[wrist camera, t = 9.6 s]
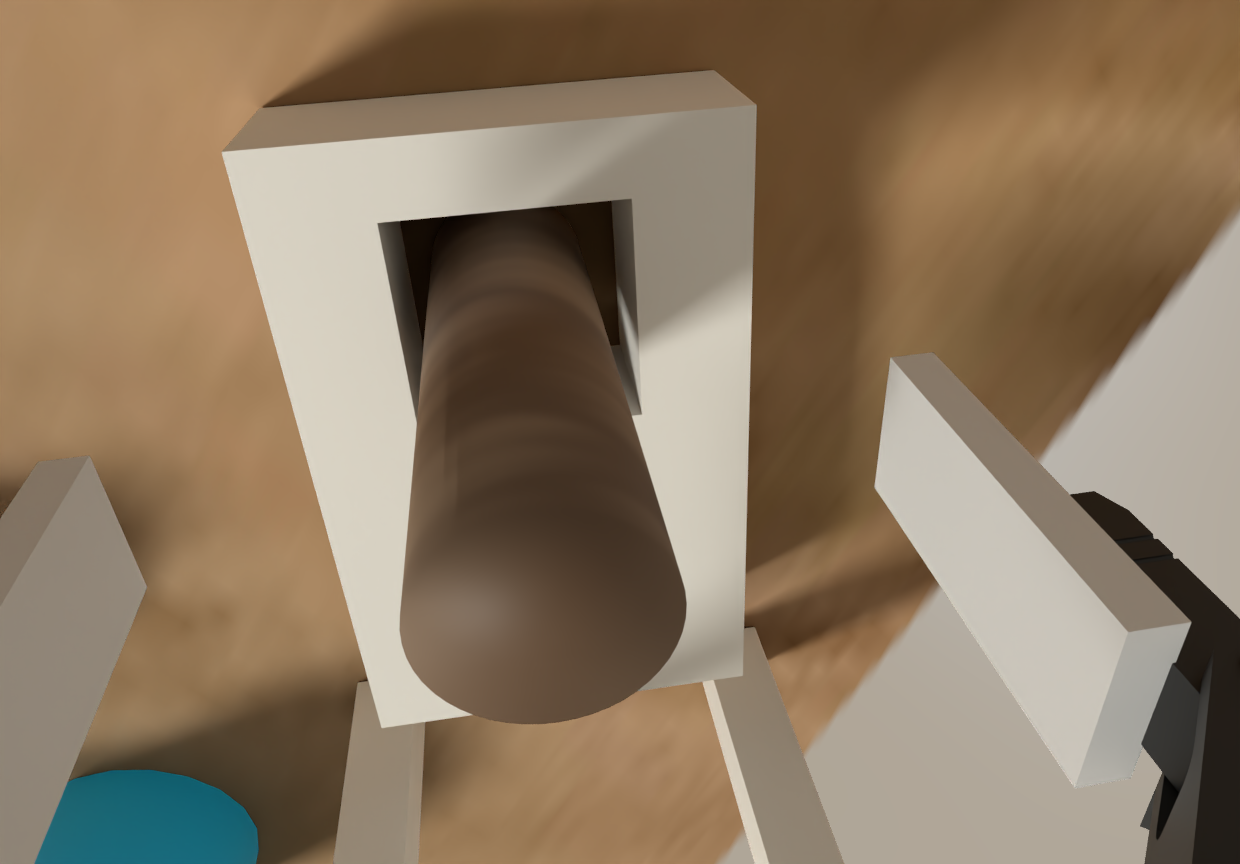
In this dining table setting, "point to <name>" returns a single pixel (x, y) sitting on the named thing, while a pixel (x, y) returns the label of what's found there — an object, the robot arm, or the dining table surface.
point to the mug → (147, 822)
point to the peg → (529, 488)
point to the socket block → (390, 335)
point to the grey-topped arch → (749, 737)
